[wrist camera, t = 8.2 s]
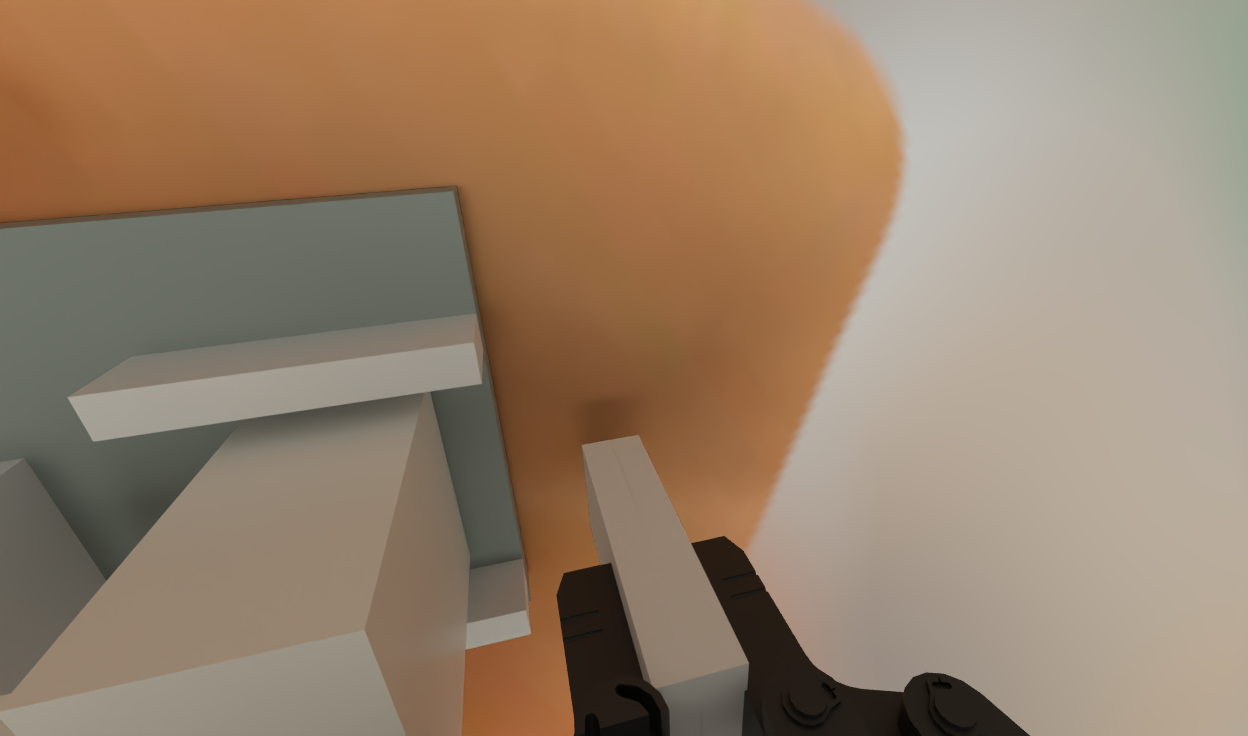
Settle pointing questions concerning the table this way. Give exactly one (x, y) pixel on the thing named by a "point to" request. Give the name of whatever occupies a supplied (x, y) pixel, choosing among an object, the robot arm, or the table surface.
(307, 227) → the mount
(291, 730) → the block
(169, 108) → the table surface
